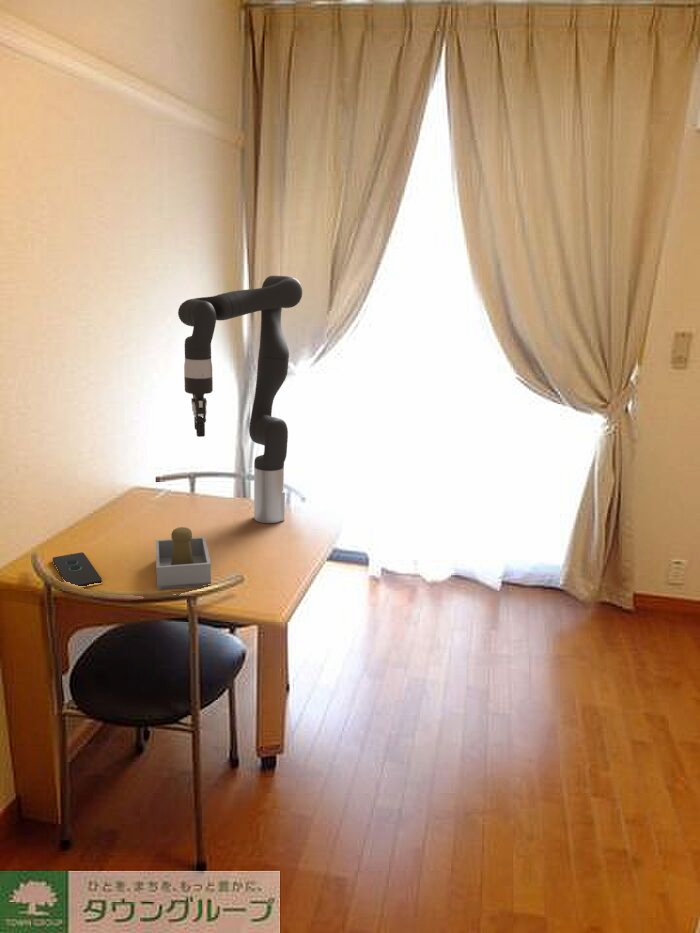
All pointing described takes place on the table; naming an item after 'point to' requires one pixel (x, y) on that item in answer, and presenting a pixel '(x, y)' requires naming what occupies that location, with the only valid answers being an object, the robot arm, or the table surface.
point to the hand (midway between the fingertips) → (199, 432)
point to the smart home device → (77, 569)
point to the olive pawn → (182, 546)
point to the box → (182, 566)
